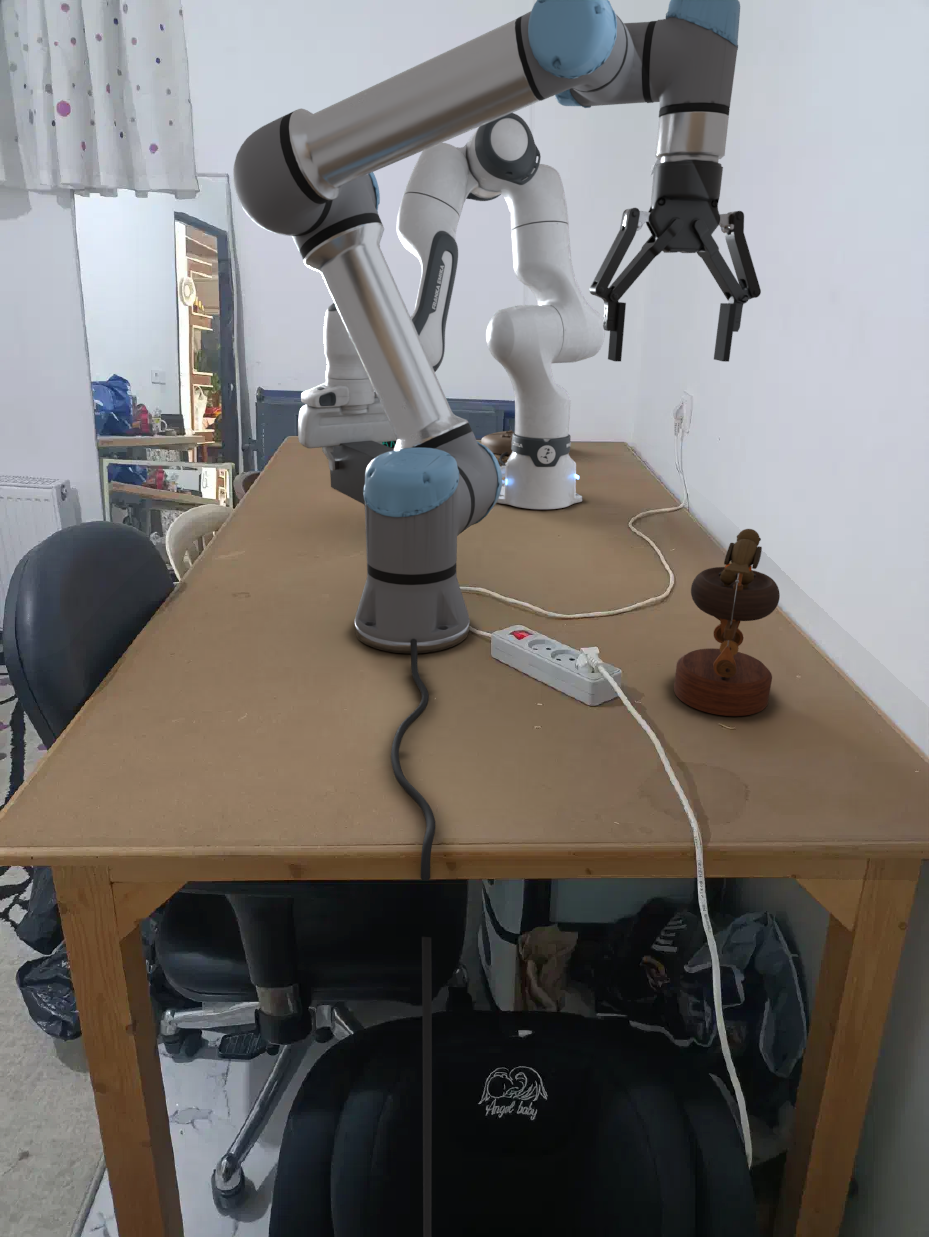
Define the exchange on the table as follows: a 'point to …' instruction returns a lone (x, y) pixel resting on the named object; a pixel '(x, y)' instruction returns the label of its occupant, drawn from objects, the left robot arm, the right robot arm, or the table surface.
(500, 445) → the brown rounded flat piece
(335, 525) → the table surface
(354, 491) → the box
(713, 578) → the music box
